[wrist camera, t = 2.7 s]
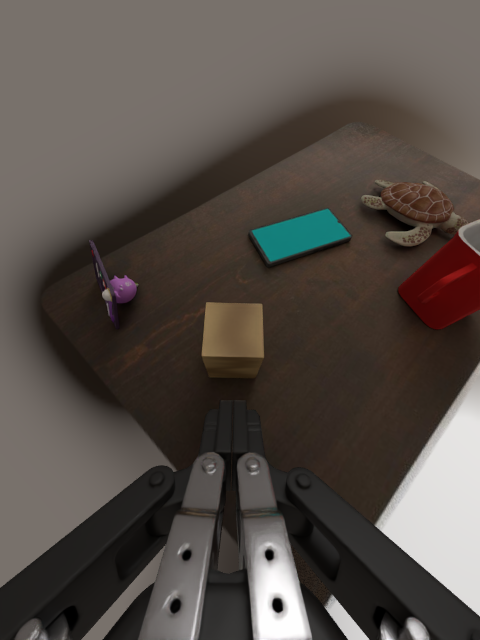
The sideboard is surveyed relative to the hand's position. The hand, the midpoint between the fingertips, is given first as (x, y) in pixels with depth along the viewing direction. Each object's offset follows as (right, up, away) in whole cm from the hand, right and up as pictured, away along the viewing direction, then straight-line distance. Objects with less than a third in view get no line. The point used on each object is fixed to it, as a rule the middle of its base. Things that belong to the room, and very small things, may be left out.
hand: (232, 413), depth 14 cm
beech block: (0, +1, +16) cm, 16 cm away
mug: (+26, +7, +20) cm, 34 cm away
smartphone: (+10, +18, +25) cm, 32 cm away
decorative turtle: (+30, +23, +28) cm, 47 cm away
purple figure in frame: (-15, +8, +19) cm, 26 cm away
